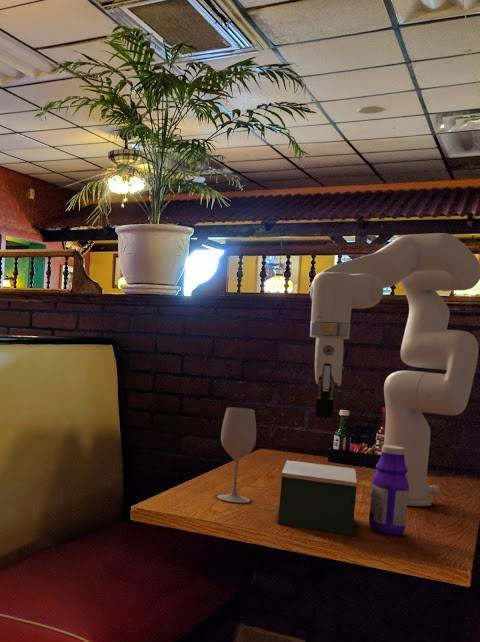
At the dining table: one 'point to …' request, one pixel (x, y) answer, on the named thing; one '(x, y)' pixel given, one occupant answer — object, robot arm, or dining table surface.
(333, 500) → the dark green open box
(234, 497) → the wineglass
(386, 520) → the bottle
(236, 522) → the dining table surface
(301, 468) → the cooler lid
